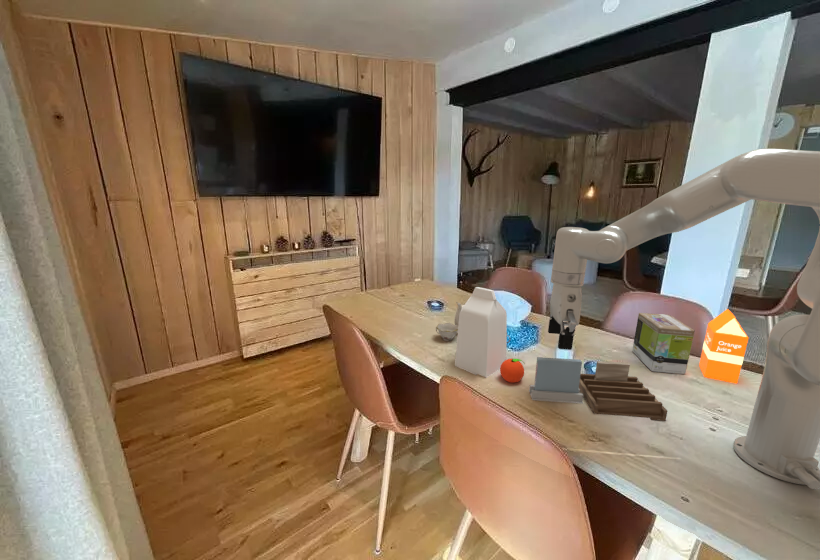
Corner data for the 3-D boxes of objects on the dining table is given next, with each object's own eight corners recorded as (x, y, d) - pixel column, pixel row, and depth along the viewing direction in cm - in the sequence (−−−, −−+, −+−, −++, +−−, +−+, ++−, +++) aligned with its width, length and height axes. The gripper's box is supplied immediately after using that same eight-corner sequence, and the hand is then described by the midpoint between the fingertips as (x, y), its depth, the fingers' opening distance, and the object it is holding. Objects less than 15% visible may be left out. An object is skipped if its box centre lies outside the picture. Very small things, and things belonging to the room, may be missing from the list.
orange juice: (729, 371, 109) (744, 310, 104) (737, 384, 101) (754, 319, 96) (698, 365, 112) (710, 306, 108) (703, 377, 105) (717, 314, 100)
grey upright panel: (577, 399, 93) (582, 362, 90) (534, 396, 94) (538, 359, 92) (575, 396, 94) (580, 359, 92) (533, 393, 96) (537, 357, 93)
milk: (454, 365, 113) (457, 288, 106) (475, 354, 120) (478, 282, 114) (486, 379, 104) (490, 296, 98) (506, 366, 112) (511, 289, 106)
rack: (665, 420, 85) (671, 388, 83) (593, 415, 87) (598, 384, 85) (637, 389, 98) (642, 361, 96) (575, 385, 101) (579, 358, 98)
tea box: (687, 375, 106) (696, 330, 103) (650, 372, 108) (658, 327, 105) (662, 353, 121) (670, 313, 117) (631, 351, 123) (637, 311, 119)
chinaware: (432, 347, 130) (432, 307, 124) (439, 327, 145) (439, 290, 139) (510, 355, 124) (513, 313, 118) (508, 333, 139) (511, 294, 133)
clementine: (516, 372, 108) (518, 351, 106) (531, 383, 102) (533, 361, 100) (494, 377, 105) (496, 356, 104) (508, 389, 99) (510, 366, 97)
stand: (583, 405, 91) (584, 396, 91) (532, 401, 93) (532, 393, 92) (576, 394, 96) (578, 386, 95) (528, 391, 98) (529, 383, 97)
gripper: (596, 287, 78) (585, 357, 82) (572, 270, 94) (564, 328, 99) (561, 285, 79) (552, 354, 83) (543, 269, 95) (537, 327, 99)
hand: (559, 340), depth 91 cm, fingers open, 9 cm apart
